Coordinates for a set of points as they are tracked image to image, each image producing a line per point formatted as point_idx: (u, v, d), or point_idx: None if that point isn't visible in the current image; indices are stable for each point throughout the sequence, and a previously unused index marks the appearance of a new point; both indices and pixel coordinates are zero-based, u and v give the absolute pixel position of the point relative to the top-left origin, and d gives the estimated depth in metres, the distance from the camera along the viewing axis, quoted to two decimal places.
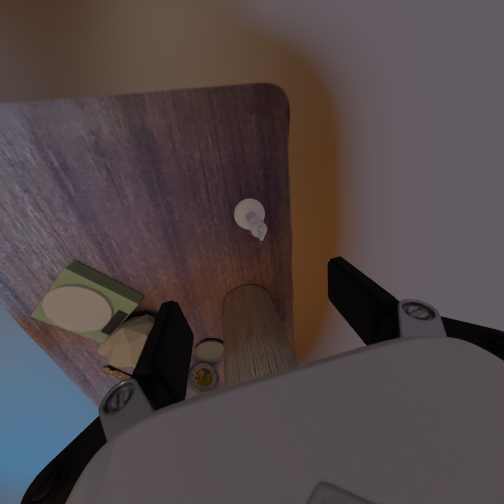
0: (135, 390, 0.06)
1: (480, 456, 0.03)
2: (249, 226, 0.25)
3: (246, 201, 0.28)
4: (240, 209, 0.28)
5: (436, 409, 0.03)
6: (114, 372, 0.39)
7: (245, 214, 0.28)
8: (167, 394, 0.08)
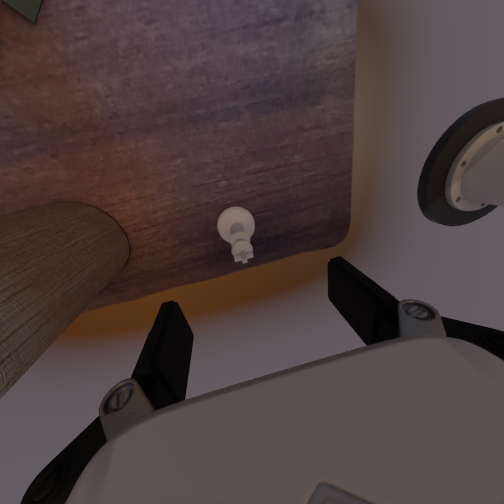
0: (135, 390, 0.06)
1: (480, 456, 0.03)
2: (237, 234, 0.19)
3: (252, 220, 0.24)
4: (243, 215, 0.23)
5: (436, 409, 0.03)
6: None
7: (239, 222, 0.23)
8: (167, 394, 0.08)
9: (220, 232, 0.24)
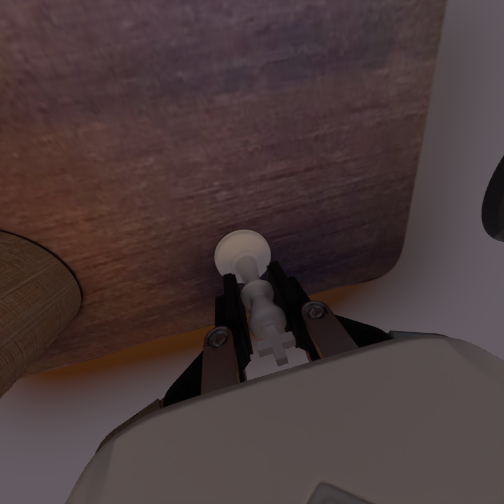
0: (230, 332, 0.08)
1: (480, 456, 0.03)
2: (253, 286, 0.11)
3: (268, 250, 0.16)
4: (254, 243, 0.15)
5: (436, 409, 0.04)
6: None
7: (250, 255, 0.15)
8: (244, 343, 0.09)
9: (219, 269, 0.16)
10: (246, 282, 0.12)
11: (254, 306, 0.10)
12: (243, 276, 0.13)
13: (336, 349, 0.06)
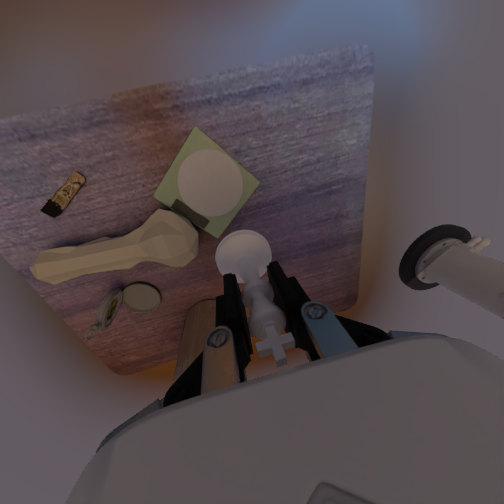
0: (230, 332, 0.08)
1: (480, 456, 0.03)
2: (253, 286, 0.11)
3: (269, 250, 0.16)
4: (255, 243, 0.15)
5: (436, 409, 0.04)
6: (71, 187, 0.26)
7: (251, 255, 0.15)
8: (245, 343, 0.09)
9: (220, 269, 0.16)
10: (246, 282, 0.12)
11: (254, 307, 0.10)
12: (244, 276, 0.13)
13: (336, 349, 0.06)
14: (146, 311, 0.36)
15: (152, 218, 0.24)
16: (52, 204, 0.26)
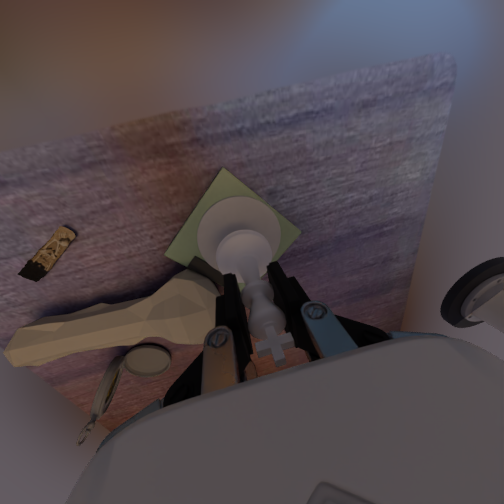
0: (230, 332, 0.08)
1: (479, 456, 0.03)
2: (253, 286, 0.11)
3: (269, 250, 0.16)
4: (256, 243, 0.15)
5: (436, 409, 0.04)
6: (57, 244, 0.20)
7: (251, 255, 0.15)
8: (245, 343, 0.09)
9: (221, 268, 0.16)
10: (246, 282, 0.12)
11: (254, 306, 0.10)
12: (244, 276, 0.13)
13: (336, 349, 0.06)
14: (153, 374, 0.30)
15: (165, 289, 0.18)
16: (33, 265, 0.20)
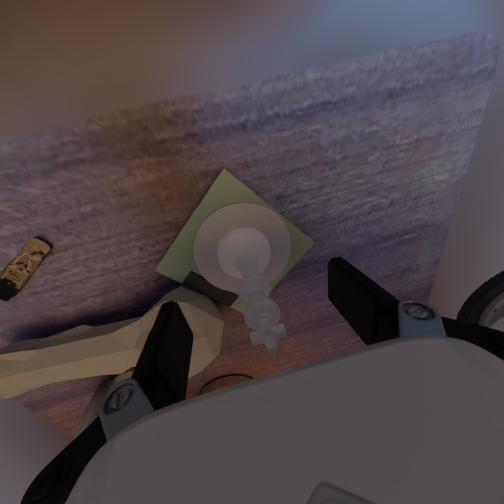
0: (135, 390, 0.06)
1: (480, 456, 0.03)
2: (251, 281, 0.12)
3: (268, 247, 0.16)
4: (255, 240, 0.16)
5: (436, 409, 0.03)
6: (29, 257, 0.17)
7: (250, 252, 0.15)
8: (167, 393, 0.08)
9: (221, 264, 0.16)
10: (245, 277, 0.13)
11: (250, 299, 0.10)
12: (242, 272, 0.14)
13: None
14: None
15: (154, 313, 0.15)
16: (2, 283, 0.17)
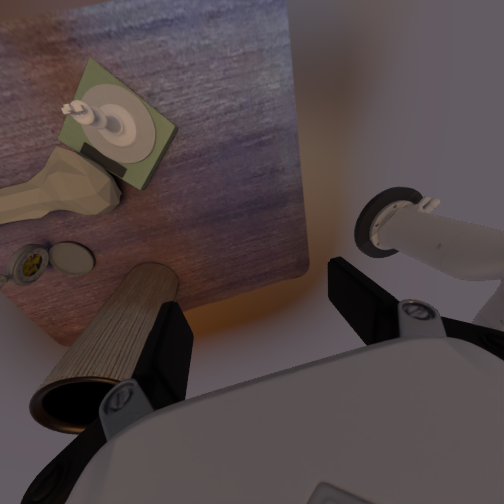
0: (135, 390, 0.06)
1: (480, 456, 0.03)
2: None
3: (131, 119, 0.24)
4: (118, 111, 0.24)
5: (436, 409, 0.03)
6: None
7: (113, 115, 0.23)
8: (167, 394, 0.08)
9: (100, 130, 0.24)
10: None
11: None
12: None
13: None
14: (80, 274, 0.35)
15: (51, 158, 0.23)
16: None
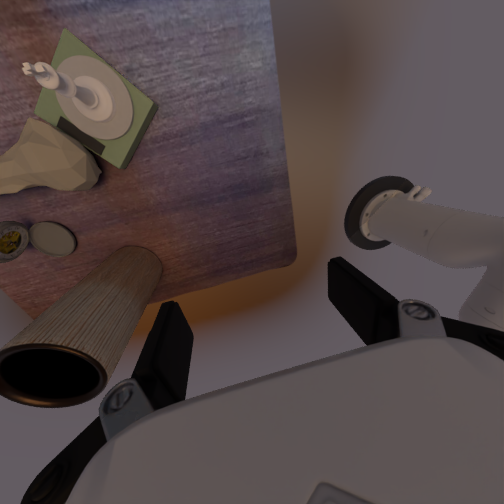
0: (135, 390, 0.06)
1: (480, 456, 0.03)
2: None
3: (107, 92, 0.24)
4: (93, 83, 0.23)
5: (436, 409, 0.03)
6: None
7: (87, 87, 0.23)
8: (167, 394, 0.08)
9: (75, 103, 0.24)
10: None
11: None
12: None
13: None
14: (61, 255, 0.35)
15: (25, 130, 0.23)
16: None
